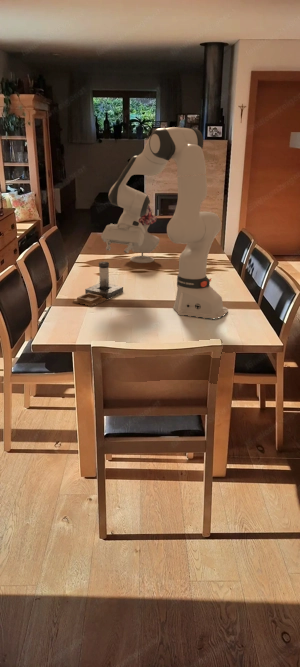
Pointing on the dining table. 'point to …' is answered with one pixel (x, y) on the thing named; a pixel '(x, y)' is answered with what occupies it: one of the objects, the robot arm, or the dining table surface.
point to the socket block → (105, 291)
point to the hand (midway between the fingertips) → (116, 251)
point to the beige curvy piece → (146, 239)
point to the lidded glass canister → (104, 275)
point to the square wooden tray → (89, 299)
